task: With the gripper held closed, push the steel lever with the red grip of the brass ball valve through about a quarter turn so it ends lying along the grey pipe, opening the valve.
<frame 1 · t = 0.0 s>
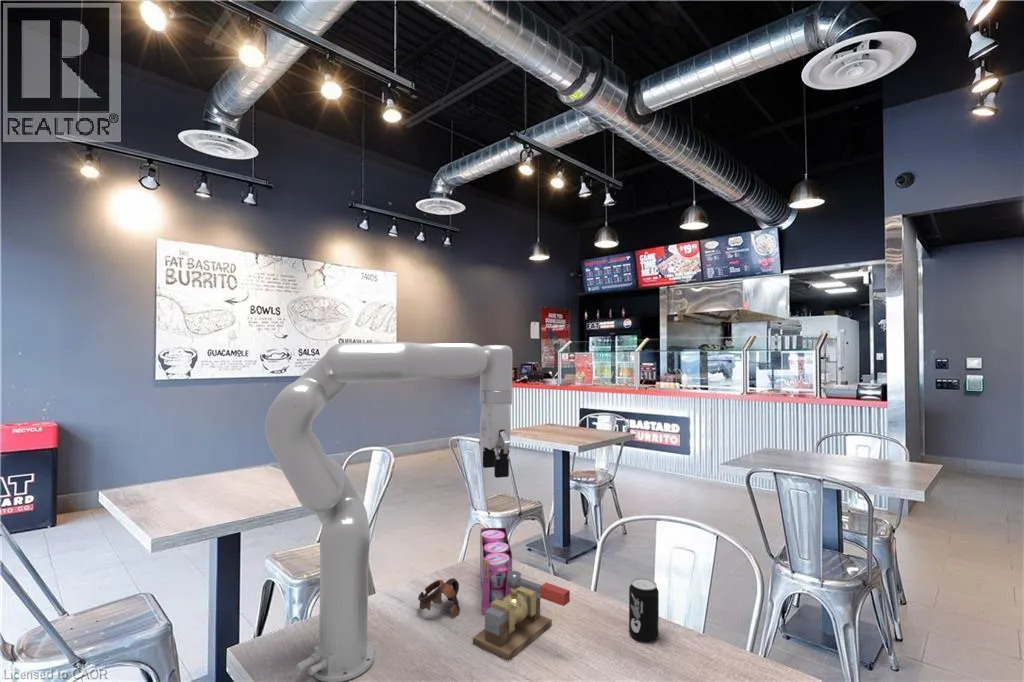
hand: (495, 471, 112), 37 cm above the table, tool pointing down, fingers open, 9 cm apart
valve board: (513, 634, 112), on the table
lever: (536, 587, 108), point 13 cm above the table, hinge at 0.0°
gum box: (494, 593, 132), on the table
ball valve: (513, 604, 112), point 7 cm above the table
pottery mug: (442, 610, 122), on the table
beverage can: (643, 636, 112), on the table
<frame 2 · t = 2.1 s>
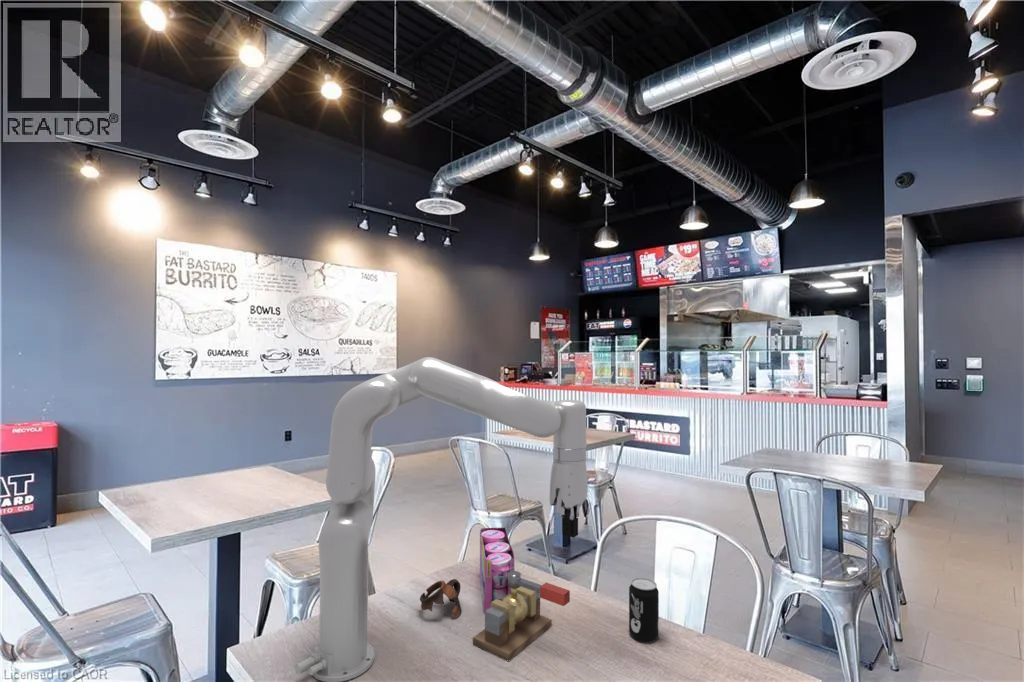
hand: (570, 535, 111), 23 cm above the table, tool pointing down, fingers closed
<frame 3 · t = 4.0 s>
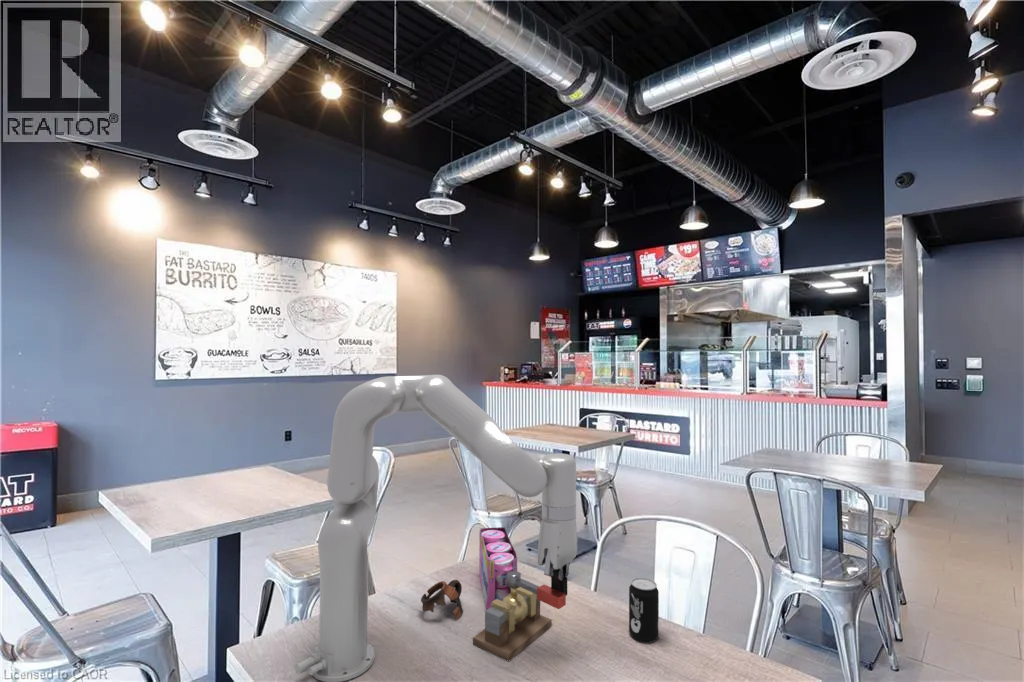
hand: (559, 594, 107), 12 cm above the table, tool pointing down, fingers closed
lever: (534, 588, 108), point 12 cm above the table, hinge at 7.2°, touching gripper
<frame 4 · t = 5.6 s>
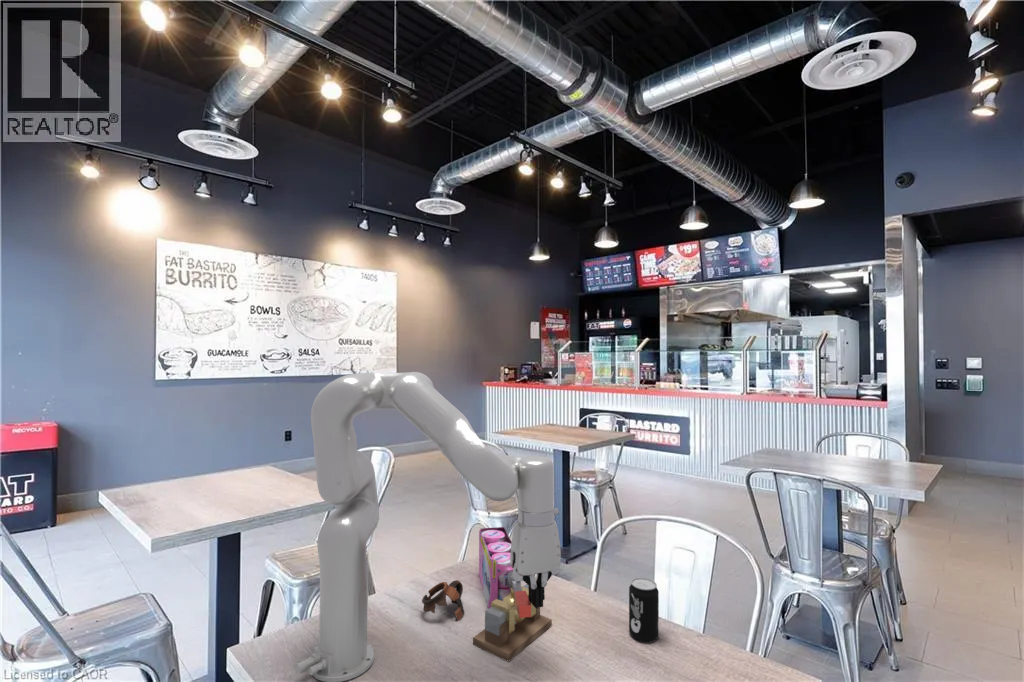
hand: (536, 604, 102), 12 cm above the table, tool pointing down, fingers closed
lever: (518, 592, 106), point 12 cm above the table, hinge at 44.5°, touching gripper
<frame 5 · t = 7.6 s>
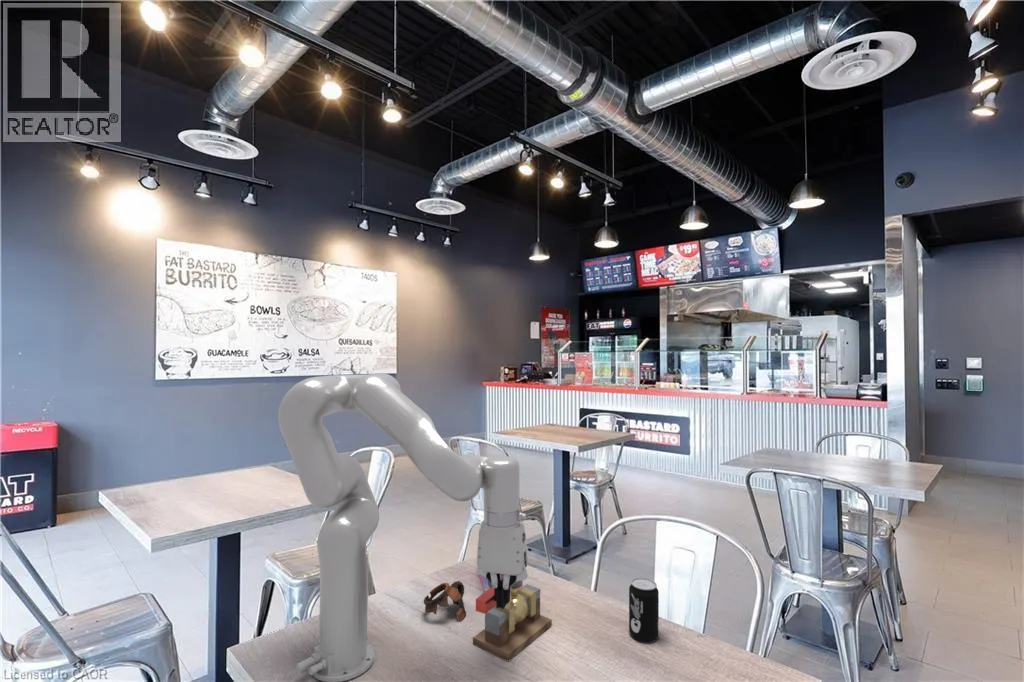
hand: (502, 605, 101), 12 cm above the table, tool pointing down, fingers closed
lever: (500, 590, 107), point 12 cm above the table, hinge at 83.3°
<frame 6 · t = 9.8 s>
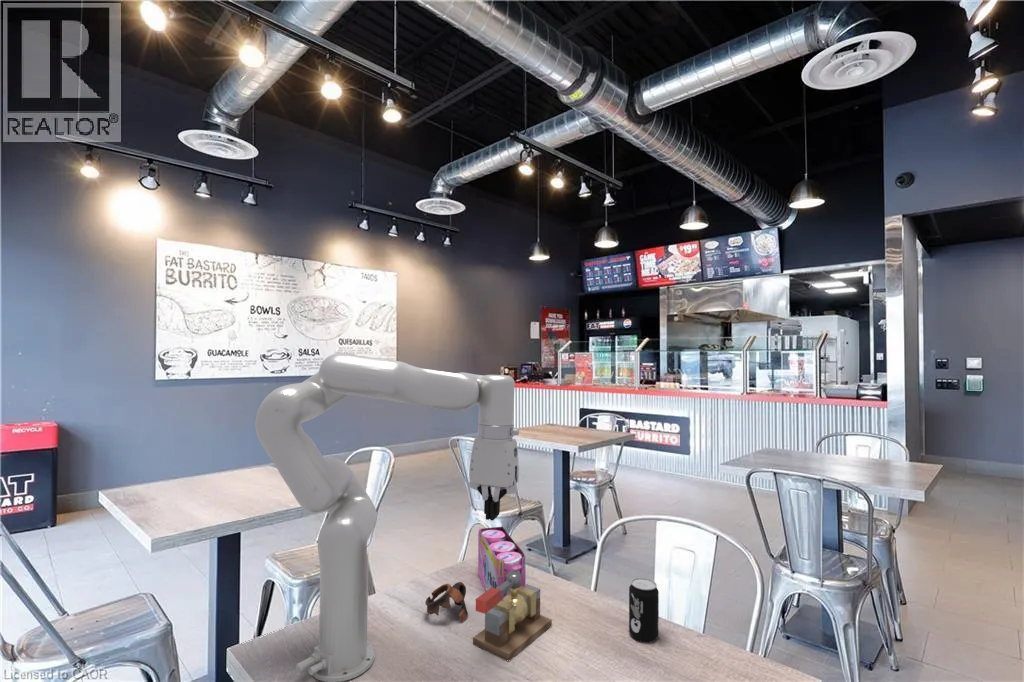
hand: (491, 518, 104), 29 cm above the table, tool pointing down, fingers closed
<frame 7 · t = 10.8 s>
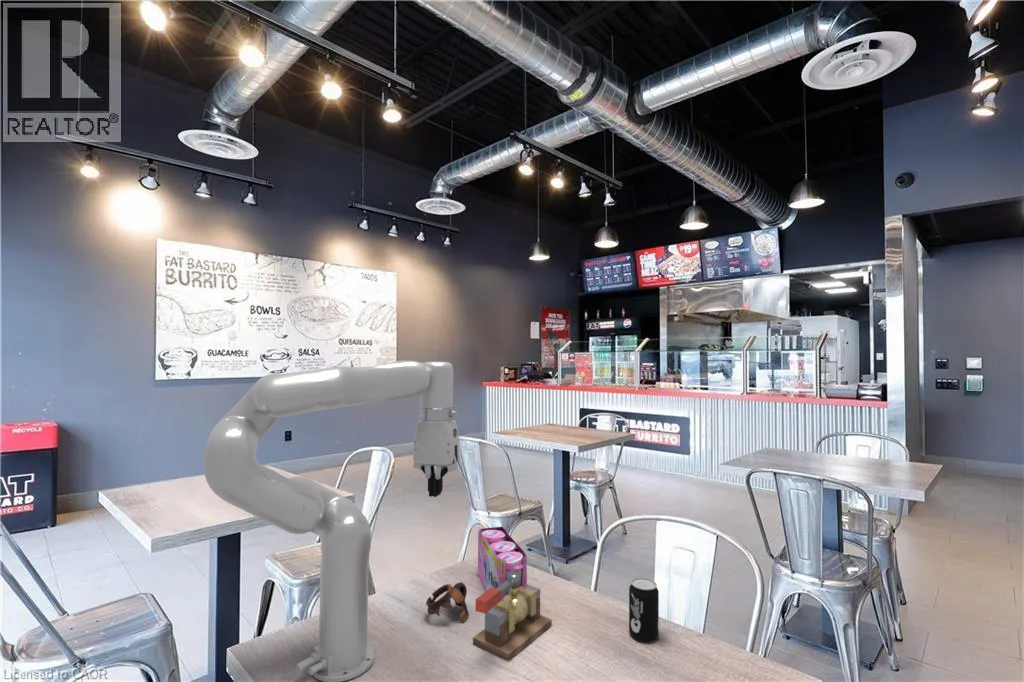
hand: (435, 495, 111), 32 cm above the table, tool pointing down, fingers closed
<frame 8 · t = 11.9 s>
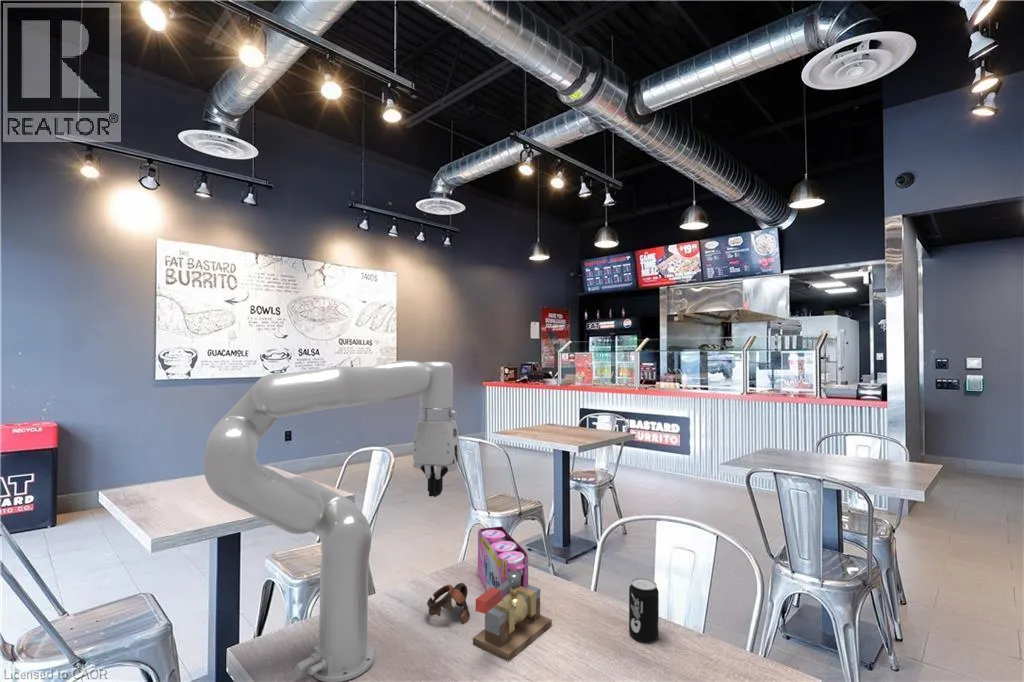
hand: (435, 494, 111), 32 cm above the table, tool pointing down, fingers closed
at the end: lever at +83° (first picture: +0°) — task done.
